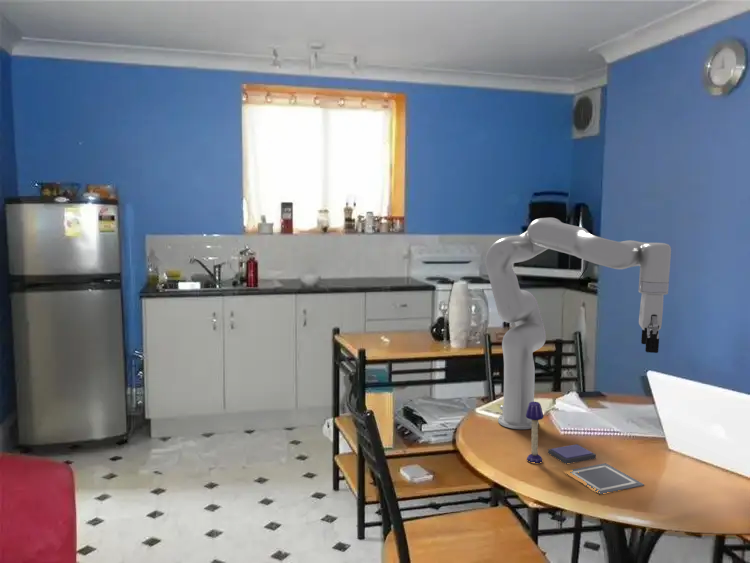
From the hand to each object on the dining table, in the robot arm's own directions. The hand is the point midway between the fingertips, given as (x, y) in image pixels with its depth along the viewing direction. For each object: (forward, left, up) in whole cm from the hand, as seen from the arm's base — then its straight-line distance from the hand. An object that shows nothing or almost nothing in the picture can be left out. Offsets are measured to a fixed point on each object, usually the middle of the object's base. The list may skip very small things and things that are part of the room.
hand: (649, 348), depth 180 cm
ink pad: (-5, -21, -30) cm, 37 cm away
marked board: (+10, -23, -30) cm, 39 cm away
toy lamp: (-6, -33, -30) cm, 45 cm away
